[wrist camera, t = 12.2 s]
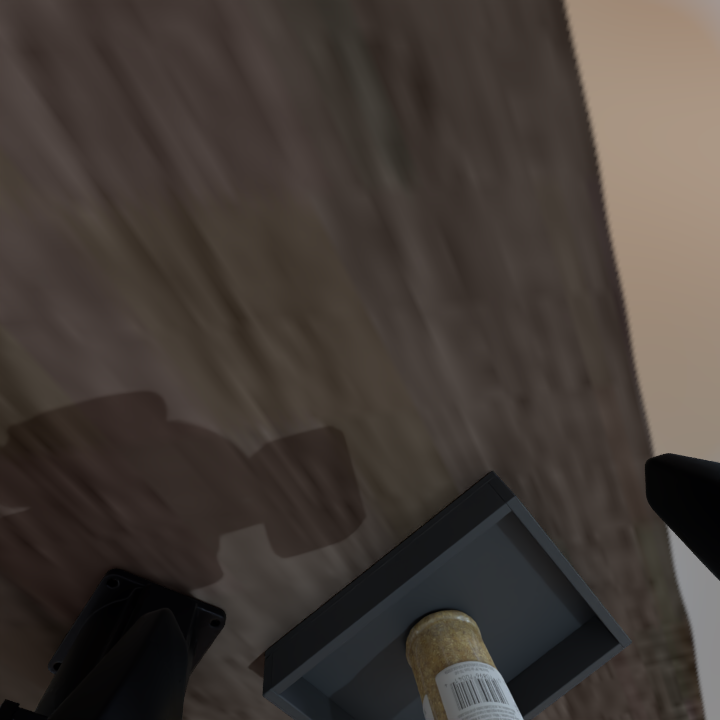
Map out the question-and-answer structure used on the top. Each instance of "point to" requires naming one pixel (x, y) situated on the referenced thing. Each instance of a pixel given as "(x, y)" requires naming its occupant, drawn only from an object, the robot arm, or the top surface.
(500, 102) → the top surface
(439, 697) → the sprinkles bottle
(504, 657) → the tray
